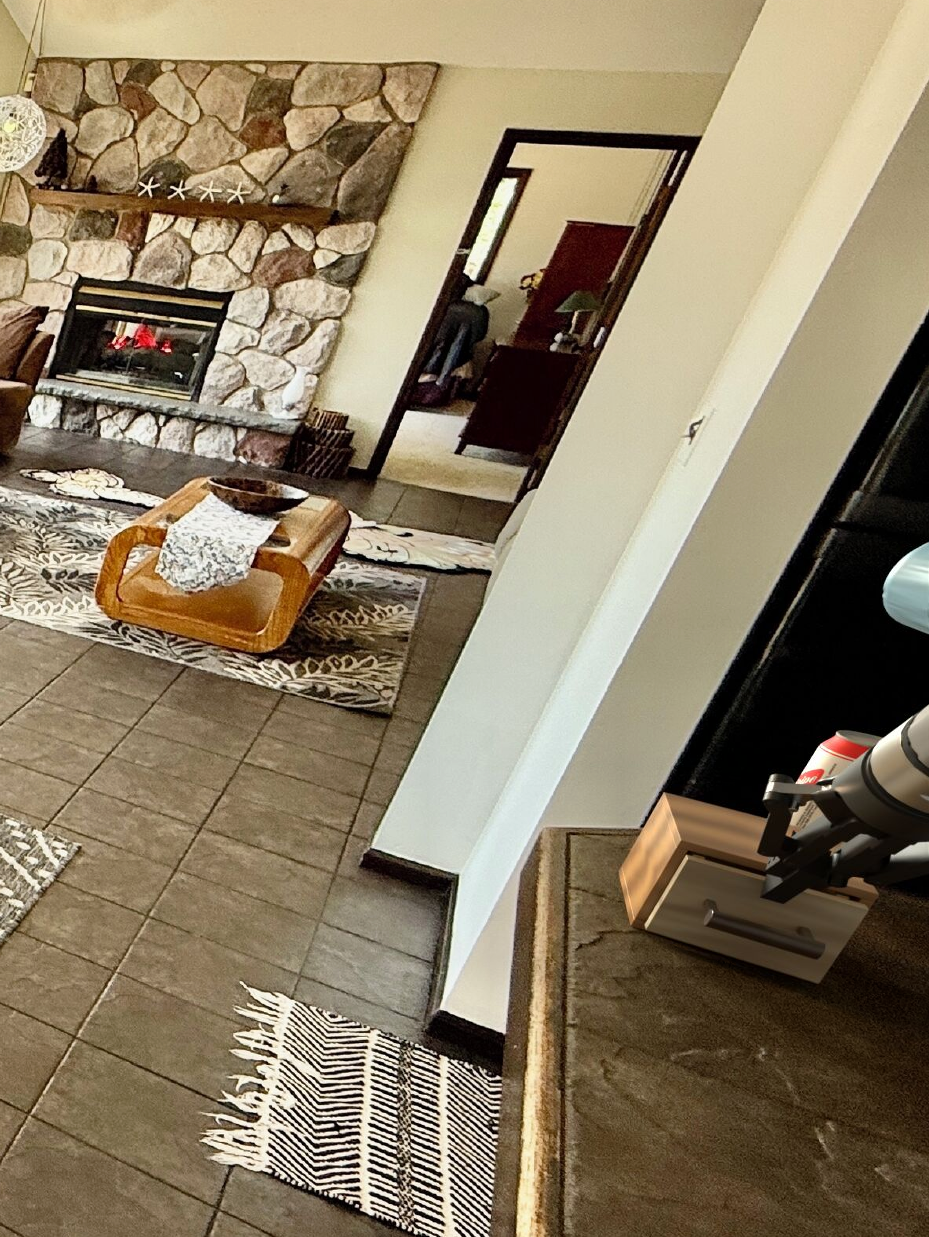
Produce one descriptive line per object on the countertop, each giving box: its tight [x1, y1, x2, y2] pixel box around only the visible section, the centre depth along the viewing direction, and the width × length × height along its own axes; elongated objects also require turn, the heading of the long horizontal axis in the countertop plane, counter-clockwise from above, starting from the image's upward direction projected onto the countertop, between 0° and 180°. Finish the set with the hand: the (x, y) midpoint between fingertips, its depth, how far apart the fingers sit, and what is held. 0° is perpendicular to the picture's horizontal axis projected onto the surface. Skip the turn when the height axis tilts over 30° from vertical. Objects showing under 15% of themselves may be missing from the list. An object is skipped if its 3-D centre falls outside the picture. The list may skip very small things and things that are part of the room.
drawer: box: [645, 850, 870, 984], centre depth 109 cm, size 18×11×8 cm, turn 139°
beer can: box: [790, 730, 884, 828], centre depth 122 cm, size 6×6×16 cm
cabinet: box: [618, 792, 880, 985], centre depth 112 cm, size 15×13×10 cm
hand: (775, 887), depth 104 cm, fingers closed
